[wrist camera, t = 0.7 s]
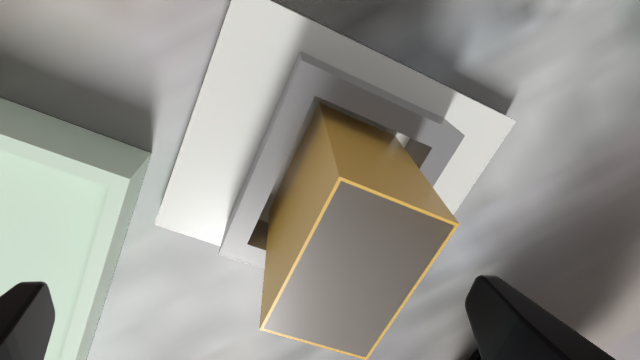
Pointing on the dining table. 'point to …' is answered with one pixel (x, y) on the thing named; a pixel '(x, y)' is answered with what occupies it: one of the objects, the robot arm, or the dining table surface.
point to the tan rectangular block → (348, 236)
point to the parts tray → (64, 216)
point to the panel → (306, 123)
